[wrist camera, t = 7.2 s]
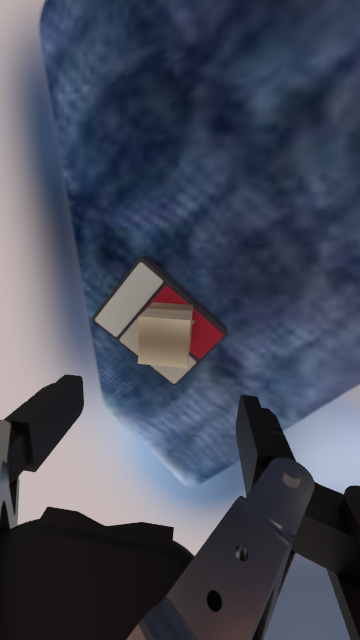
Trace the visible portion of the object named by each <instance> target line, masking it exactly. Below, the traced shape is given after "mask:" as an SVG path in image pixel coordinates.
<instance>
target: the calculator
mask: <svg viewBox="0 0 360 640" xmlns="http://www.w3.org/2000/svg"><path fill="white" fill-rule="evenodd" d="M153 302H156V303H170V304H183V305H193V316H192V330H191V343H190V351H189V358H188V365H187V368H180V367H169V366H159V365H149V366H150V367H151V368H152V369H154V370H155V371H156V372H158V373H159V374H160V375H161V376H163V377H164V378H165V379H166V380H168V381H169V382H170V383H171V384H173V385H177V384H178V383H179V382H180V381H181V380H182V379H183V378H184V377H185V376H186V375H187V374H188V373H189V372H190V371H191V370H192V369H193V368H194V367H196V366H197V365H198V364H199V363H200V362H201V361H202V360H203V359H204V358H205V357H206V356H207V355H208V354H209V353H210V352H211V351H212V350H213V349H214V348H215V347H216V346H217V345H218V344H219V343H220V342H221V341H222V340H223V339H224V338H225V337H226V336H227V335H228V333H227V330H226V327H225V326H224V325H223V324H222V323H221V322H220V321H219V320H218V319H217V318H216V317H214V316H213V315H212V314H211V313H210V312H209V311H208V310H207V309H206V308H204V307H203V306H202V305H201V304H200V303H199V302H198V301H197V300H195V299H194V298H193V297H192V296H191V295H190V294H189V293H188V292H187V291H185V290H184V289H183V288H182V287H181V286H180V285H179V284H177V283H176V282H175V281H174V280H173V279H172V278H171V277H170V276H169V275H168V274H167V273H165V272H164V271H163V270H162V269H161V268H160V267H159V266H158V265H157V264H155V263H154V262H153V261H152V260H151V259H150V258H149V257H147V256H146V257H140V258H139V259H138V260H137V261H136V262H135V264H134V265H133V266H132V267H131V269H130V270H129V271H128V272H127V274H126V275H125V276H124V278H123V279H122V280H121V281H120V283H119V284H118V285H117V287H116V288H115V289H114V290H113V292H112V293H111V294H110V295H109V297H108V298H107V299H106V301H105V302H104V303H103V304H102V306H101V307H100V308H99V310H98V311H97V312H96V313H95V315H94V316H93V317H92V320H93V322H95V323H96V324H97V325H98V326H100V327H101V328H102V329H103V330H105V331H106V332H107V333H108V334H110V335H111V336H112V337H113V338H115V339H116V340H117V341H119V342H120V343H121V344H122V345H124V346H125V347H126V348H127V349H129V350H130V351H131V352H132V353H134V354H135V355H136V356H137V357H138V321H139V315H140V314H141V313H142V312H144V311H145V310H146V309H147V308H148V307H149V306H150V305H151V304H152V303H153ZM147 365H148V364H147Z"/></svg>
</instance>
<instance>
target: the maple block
mask: <svg viewBox="0 0 360 640" xmlns="http://www.w3.org/2000/svg"><path fill="white" fill-rule="evenodd" d="M192 316H193V305H183V304H170V303H156V302H153V303H152V304H151V305H150V306H149V307H148V308H147V309H146V310H145V311H144V312H142V313H141V314H140V315H139V321H138V364H148V365H159V366H169V367H180V368H187V365H188V358H189V351H190V343H191V330H192Z"/></svg>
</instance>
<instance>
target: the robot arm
mask: <svg viewBox="0 0 360 640" xmlns="http://www.w3.org/2000/svg"><path fill="white" fill-rule="evenodd" d="M83 406H84V396H83V381H82V377H81V376H75V375H64V376H63V377H62V378H60V379H59V380H58V381H57V382H56V383H52V384H50V385H48V386H46V387H44V388H42V389H41V390H40V391H38V392H37V393H36V394H35V395H34V396H32V397H31V398H30V399H29V400H28V401H27V402H25V403H24V404H22V405H21V406H20V407H19V408H17V409H16V410H15V411H14V412H12V413H11V414H10V415H9V416H8V417H6V418H5V419H4V420H0V640H264V638H265V635H266V632H267V629H268V627H269V624H270V620H271V618H272V615H273V611H274V609H275V606H276V603H277V601H278V598H279V595H280V593H281V590H282V587H283V585H284V582H285V580H286V577H287V575H288V572H289V569H290V567H291V564H292V562H293V558H294V556H295V554H296V553H298V554H300V555H301V556H303V557H305V558H307V559H309V560H311V561H313V562H315V563H317V564H319V565H321V566H322V567H325V568H326V569H327V571H328V574H329V577H330V580H331V583H332V586H333V589H334V592H335V595H336V598H337V600H338V604H339V607H340V610H341V612H342V615H343V618H344V621H345V624H346V627H347V630H348V633H349V636H350V639H351V640H360V486H349V487H348V488H347V489H346V490H345V493H344V494H341V493H339V492H336V491H334V490H331V489H329V488H326V487H324V486H322V485H319V484H318V483H316V482H314V480H313V477H312V476H311V474H310V473H309V472H308V470H307V469H306V468H305V467H303V466H302V465H301V464H299V463H298V462H296V460H295V458H294V456H293V453H292V451H291V449H290V447H289V444H288V442H287V440H286V438H285V435H284V434H283V431H282V428H281V427H280V424H279V422H278V419H277V417H276V416H275V415H274V414H273V413H272V412H271V411H270V410H269V409H266V408H261V405H260V402H259V400H258V397H256V396H248V395H241V396H240V401H239V407H238V414H237V421H236V437H237V443H238V449H239V455H240V461H241V466H242V473H243V478H244V484H245V490H246V496H247V497H246V498H244V497H243V496H240V497H239V498H238V499H237V500H236V501H235V502H234V504H233V505H232V506H231V508H230V509H229V510H228V512H227V513H226V514H225V516H224V517H223V519H222V520H221V521H220V523H219V524H218V526H217V527H216V528H215V530H214V531H213V532H212V534H211V535H210V536H209V538H208V539H207V541H206V542H205V543H204V545H203V546H202V547H201V549H200V550H199V551H198V553H197V554H196V556H194V555H192V553H190V552H189V551H188V550H187V549H186V548H185V547H183V546H182V545H180V544H179V543H177V542H175V541H173V530H174V527H168V526H163V525H157V524H150V523H144V522H138V523H130V524H122V525H114V526H104V525H101V524H100V523H98V522H96V521H94V520H92V519H91V518H89V517H87V516H85V515H83V514H81V513H79V512H77V511H71V510H64V509H59V508H52V507H47V508H46V510H45V512H44V513H43V515H42V516H41V518H40V519H37V520H33V521H29V522H26V523H23V524H20V525H18V526H17V520H18V500H19V475H20V474H21V472H23V470H25V471H32V472H36V471H37V469H38V468H39V467H40V465H41V464H42V463H43V462H44V461H45V459H46V458H47V457H48V456H49V454H50V453H51V452H52V450H53V449H54V448H55V447H56V445H57V444H58V443H59V442H60V440H61V439H62V438H63V436H64V435H65V433H67V431H68V430H69V429H70V428H71V426H72V425H73V424H74V422H75V421H76V420H77V419H78V417H79V416H80V414H81V413H82V410H83Z"/></svg>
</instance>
